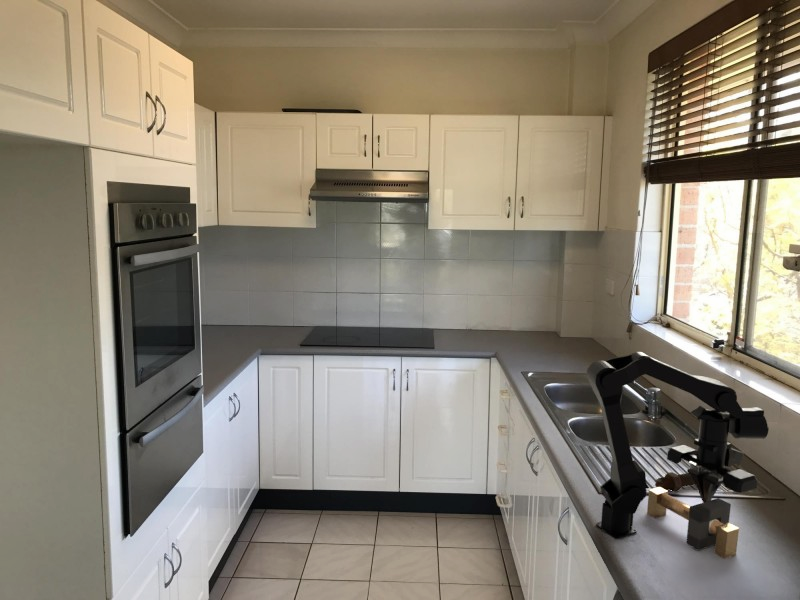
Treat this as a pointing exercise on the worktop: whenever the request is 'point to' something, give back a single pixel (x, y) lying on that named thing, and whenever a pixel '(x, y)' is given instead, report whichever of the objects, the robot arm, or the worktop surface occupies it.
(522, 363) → the worktop surface
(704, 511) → the dark grey square ring
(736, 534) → the square head rod
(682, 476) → the bolt
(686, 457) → the robot arm
